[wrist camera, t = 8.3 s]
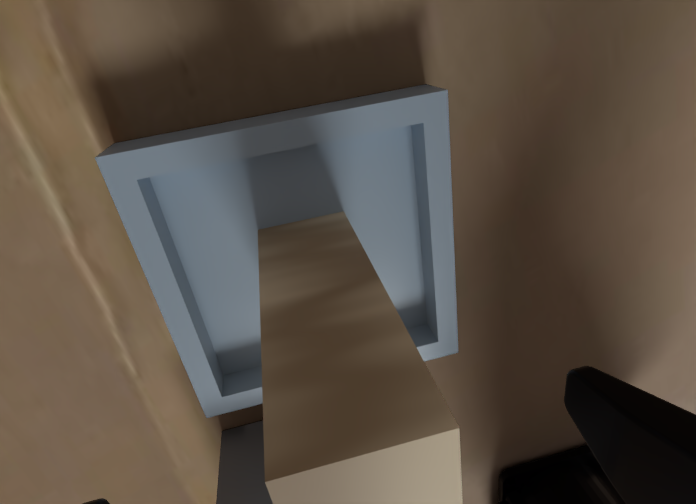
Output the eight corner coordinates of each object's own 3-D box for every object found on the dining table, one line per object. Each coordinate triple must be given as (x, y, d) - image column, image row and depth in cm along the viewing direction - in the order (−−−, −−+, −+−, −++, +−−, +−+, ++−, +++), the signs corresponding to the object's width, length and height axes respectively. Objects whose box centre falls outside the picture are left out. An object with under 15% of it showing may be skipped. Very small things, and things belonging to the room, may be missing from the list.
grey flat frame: (426, 84, 14) (447, 89, 13) (441, 326, 19) (458, 352, 17) (113, 143, 13) (94, 157, 12) (210, 384, 18) (206, 417, 16)
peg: (343, 210, 15) (459, 428, 7) (355, 284, 16) (464, 540, 8) (257, 229, 15) (264, 482, 6) (277, 302, 16) (304, 588, 8)
